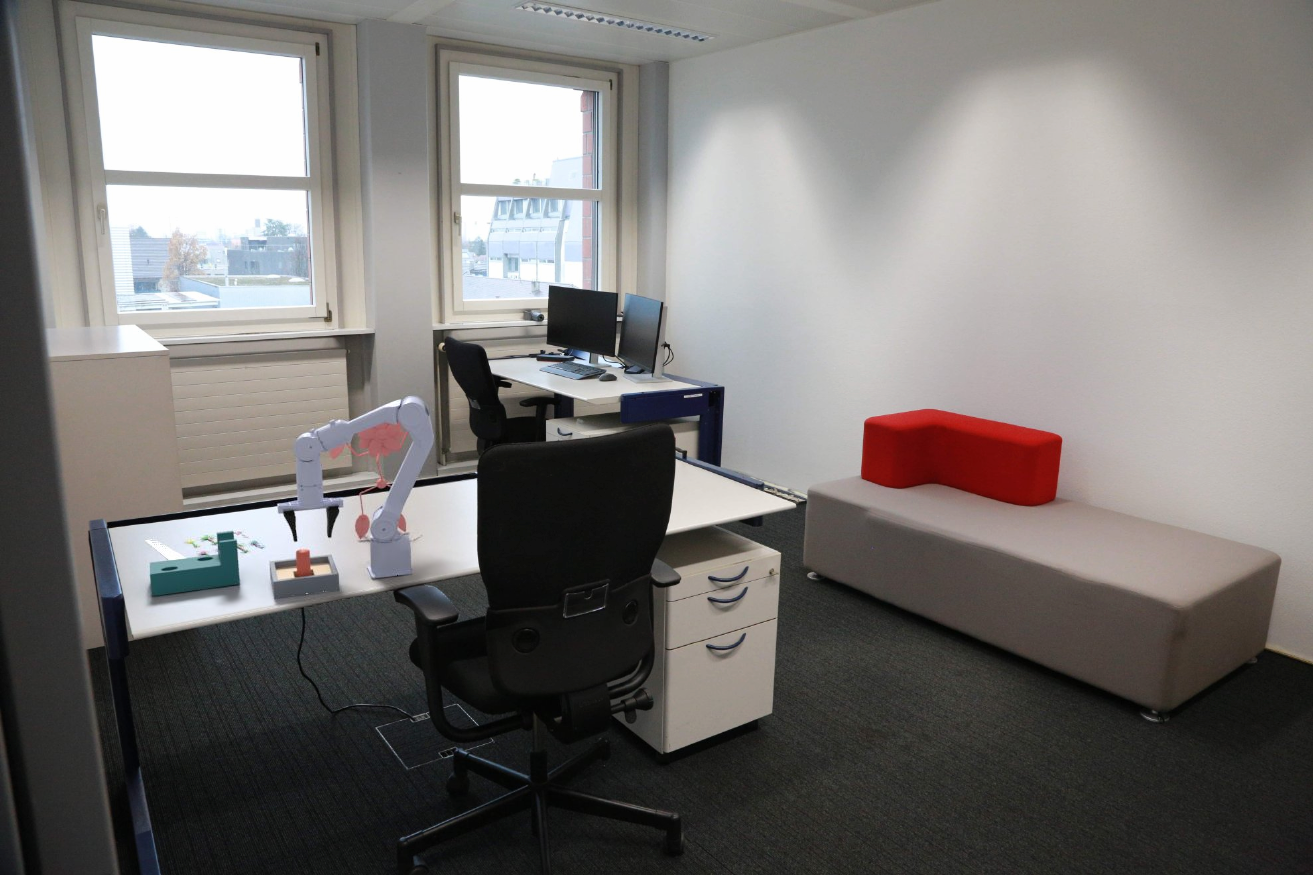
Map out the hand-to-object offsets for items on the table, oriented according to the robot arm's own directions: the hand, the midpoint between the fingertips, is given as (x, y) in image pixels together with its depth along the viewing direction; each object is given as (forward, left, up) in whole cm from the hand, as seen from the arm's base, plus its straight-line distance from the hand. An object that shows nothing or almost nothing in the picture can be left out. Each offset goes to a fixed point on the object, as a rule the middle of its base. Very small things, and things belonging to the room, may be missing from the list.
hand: (312, 538), depth 215 cm
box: (+3, +5, -9) cm, 11 cm away
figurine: (-20, -22, -10) cm, 32 cm away
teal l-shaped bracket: (+26, -4, -10) cm, 28 cm away
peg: (+3, +5, -9) cm, 11 cm away
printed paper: (+19, -31, -10) cm, 38 cm away
